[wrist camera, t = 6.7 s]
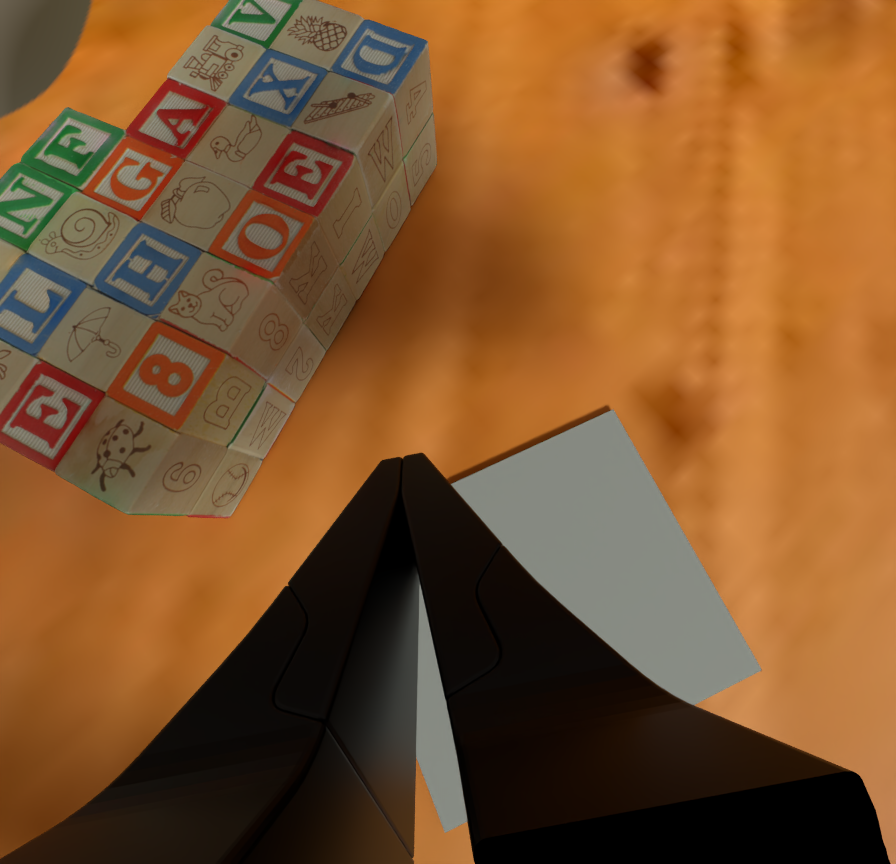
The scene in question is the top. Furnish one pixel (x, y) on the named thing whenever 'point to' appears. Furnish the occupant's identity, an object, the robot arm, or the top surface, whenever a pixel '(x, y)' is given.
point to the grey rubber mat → (591, 577)
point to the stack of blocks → (204, 252)
